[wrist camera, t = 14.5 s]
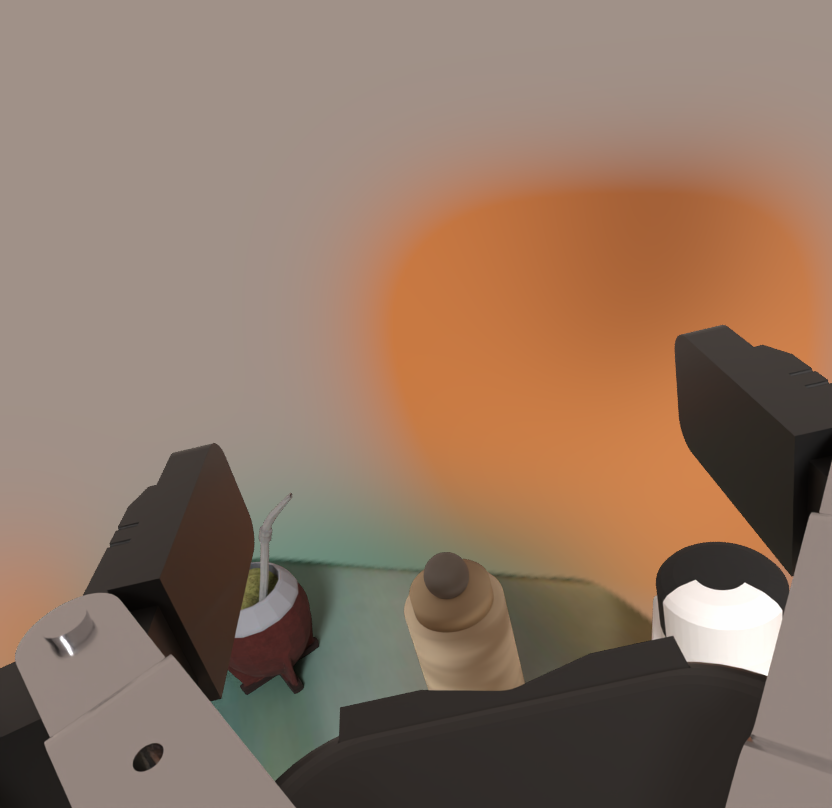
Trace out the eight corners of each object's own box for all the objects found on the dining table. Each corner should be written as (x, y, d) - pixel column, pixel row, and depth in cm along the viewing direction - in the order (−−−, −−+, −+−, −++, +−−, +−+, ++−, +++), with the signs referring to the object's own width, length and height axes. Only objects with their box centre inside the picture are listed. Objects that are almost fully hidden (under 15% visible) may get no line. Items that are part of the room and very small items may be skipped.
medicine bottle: (661, 676, 44) (645, 524, 39) (790, 687, 42) (792, 526, 36) (660, 783, 38) (640, 622, 33) (809, 804, 36) (814, 632, 30)
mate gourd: (222, 668, 54) (142, 510, 47) (311, 611, 57) (249, 455, 50) (260, 730, 48) (175, 559, 41) (357, 661, 51) (293, 493, 44)
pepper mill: (461, 814, 38) (392, 606, 32) (451, 735, 43) (388, 537, 36) (551, 795, 38) (501, 581, 31) (532, 717, 43) (485, 515, 36)
